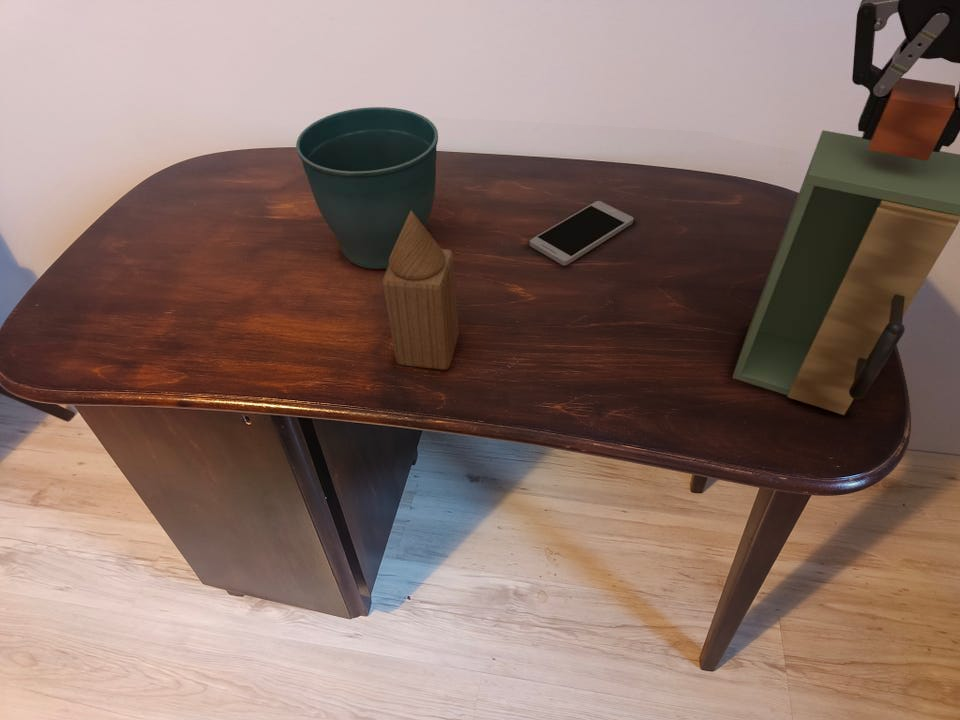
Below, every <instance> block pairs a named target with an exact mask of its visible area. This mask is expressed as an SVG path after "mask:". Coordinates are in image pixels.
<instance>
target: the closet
mask: <svg viewBox="0 0 960 720" xmlns="http://www.w3.org/2000/svg"><path fill="white" fill-rule="evenodd" d="M869 141H870V140H866V139H862V136H858V135H853V134H852V135H851V134H846V133H841V132H835V131H831V130H830V131H829V130H824V129H823V130H822V131H821V132H820V136H819V138H818V141H817V144H816V147H815V149H814V152H813V154H812V157H811V160H810V163H809V166H808V167H807V170H806V173H805V175H804V179H803V181H802V184H801V187H800V189H799V192H798V195H797V196H796V197H797V198H796V200H795V203H794V206H793V207H792V210H791V214H790V216H789V218H788V220H787V221H788V222H787V224H786V227H785V230H784V233H783V235H782V237H781V241H780V244H779V246H778V249H777V251H776V253H775V257H774V259H773V262H772V265H771V267H770V270H769V272H768V275H767V278H766V280H765V284H764V286H763V289H762V292H761V295H760V297H759V300H758V303H757V306H756V308H755V310H754V313H753V316H752V318H751V320H750V324H749V327H748V330H747V332H746V335H745V338H744V341H743V344H742V347H741V350H740V353H739V356H738V359H737V362H736V364H735V367H734V371H733V374H732V377H731V378H732V379H733V380H738V381H741V382H744V383H747V384H750V385H754V386H756V387H759V388H763V389H766V390H770V391H773V392H774V393H775V392H776V393H777V394H780V395H785V396H787V395H788V392H789V390H790V388H791V386H792V384H793V382H794V380H795V378H796V376H797V374H798V371H799V369H800V367H801V365H802V363H803V361H804V359H805V357H806V355H807V353H808V351H809V349H810V346H811V344H812V342H813V340H814V338H815V336H816V334H817V332H818V330H819V328H820V326H821V323H822V321H823V319H824V317H825V315H826V313H827V311H828V309H829V307H830V305H831V303H832V301H833V298H834V296H835V294H836V292H837V290H838V288H839V286H840V284H841V282H842V280H843V278H844V275H845V273H846V271H847V269H848V267H849V265H850V263H851V261H852V259H853V257H854V255H855V253H856V250H857V248H858V246H859V244H860V242H861V240H862V238H863V236H864V234H865V232H866V230H867V227H868V225H869V223H870V221H871V219H872V217H873V215H874V213H875V211H876V209H877V207H879V208H884V209H888V210H893V211H898V212H903V213H907V214H912V215H917V216H922V217H926V218H931V219H936V220H941V221H945V222H950V223H955V224H956V227H957V226H958V225H959V223H960V154H959V153H953V152H948V151H944V150H943V151H942V150H940V151H939V152H932V153H931V155H930V157H929V159H928V160H927V161H925V160H920V159H914V158H909V157H903V156H898V155H892V154H887V153H882V152H876V151H871V150H868V146H869Z"/></svg>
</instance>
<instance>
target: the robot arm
mask: <svg viewBox="0 0 960 720" xmlns="http://www.w3.org/2000/svg"><path fill="white" fill-rule="evenodd" d="M894 14H898V18H899V20H900V23H901V27H902V30H903V33H904V36H905V38H904V39H903V40H902V41H901V43H900V44H899V45H898V47H897V48H896V49H895V50H894V52H893V54H892V55H891V57H890V58H889V59H888V61H887V62H886V63H885V64H884V65H883V67H882V68H880V67H878V66H876V65H874V64H873V60H874V48H875V37H876V32H879V31H882V30H883V29H884V28H885V27H886V26H887V24H888V21H889V18H890V17H891V16H892V15H894ZM854 39H855V40H854V50H853V64H852V74H851V75H852V78H851V79H852V82H853V84H854V85H857V86H863V87H864V88H866V89H867V90H868V92H869V94H868V97H867V99H866V102H865V103H864V106H863V109H862V111H861V114H860V115H859V119H858V123H857V131H858V132H862V136H861V137H862V139H866V140H871V138H872V135H873V133H874V131H875V129H876V126H877V124H878V122H879V119H880V117H881V115H882V112H883V110H884V108H885V106H886V103H887V101H888V98H889V93H890V91H891V89H892V88H893V87H894V86H895V85H896V83H897V82H898V81H899V80H900V79H901V78H903V76H904V75H905V74H907V73H908V72H909V71H910V70H911V69H912V67H913V66H914V65H915V64H916V62H918V60H920V59H923V60H935V59H942V60H945V61H947V62H950V63H954V64H960V0H861V1H860V3H859V7H858V9H857V13H856V23H855V36H854ZM959 134H960V82H959V84H958V91H957V93H956V94H955V109H954V111H953V113H952V115H951V117H950V118H949V120H948V122H947V124H946V126H945V128H944V130H943V132H942V134H941V136H940V138H939V140H938V142H937V144H936V146H935V147H934V149H933V151H932V152H939V151H941V149H942V147H947V148H949V147H950V146H951V145H952V144H953V143H955V141H956V139H957V137H958V135H959Z"/></svg>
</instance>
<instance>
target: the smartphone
mask: <svg viewBox="0 0 960 720" xmlns="http://www.w3.org/2000/svg"><path fill="white" fill-rule="evenodd" d="M633 223H634V217H633V216H632V215H630V214H627V213H625V212H624V211H621V210H620V209H618V208H615V207H613V206H611V205H609V204H608V203H605V202H603V201H601V200H596V201H594V202H592V203H591V204H589V205H588V206H586V207H584V208H582V209H580V210H578V211H577V212H575V213H573V214H572V215H569V216H568V217H566V218H565V219H563V220H562V221H559V223H556V224H554V225H553V226H551V227H549V228H548V229H546V230H544V231H543V232H541V233H539V234H537V235H536V236H534V237H532V238H530V240H529V247H531V248H533V249H534V250H536V251H538V252H539V253H541V254H543V255H545V256H546V257H548V258H550V259H551V260H553V261H555V262H556V263H558V264H559V265H562V266H568V265H570V264H571V263H573V262H574V261H576V260H577V259H578V258H580V257H582V256H585V254H587V253H589V252H590V251H592V250H593V249H595V248H596V247H598V246H600V245H601V244H603V243H604V242H606V241H608V240H609V239H610V238H612V237H614V236H616V235H617V234H618V233H620V232H622V231H624V230H625V229H626V228H628V227H630V226H632V225H633Z"/></svg>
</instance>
